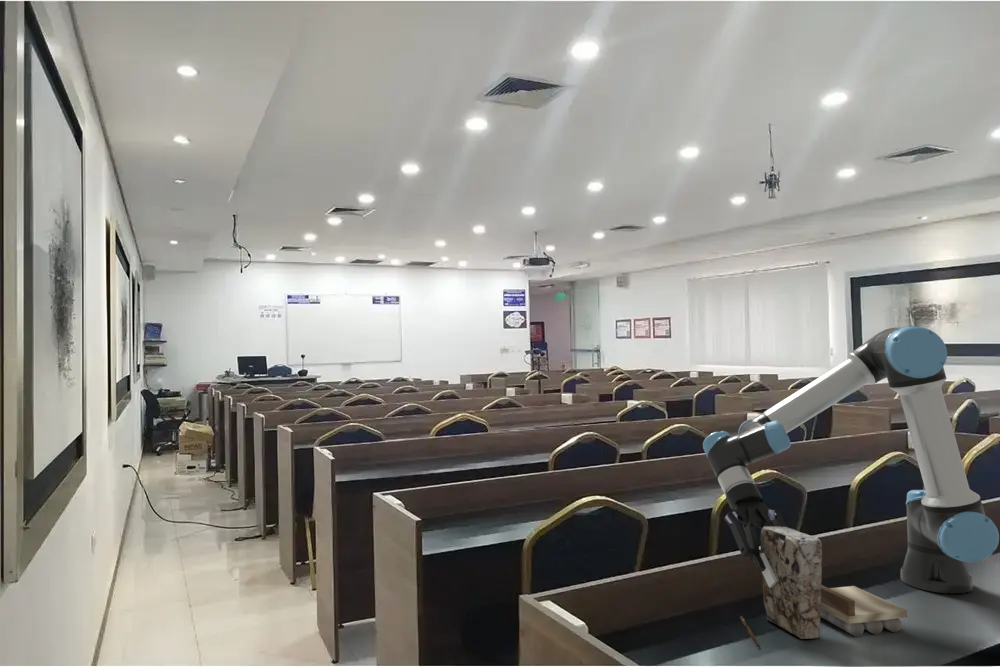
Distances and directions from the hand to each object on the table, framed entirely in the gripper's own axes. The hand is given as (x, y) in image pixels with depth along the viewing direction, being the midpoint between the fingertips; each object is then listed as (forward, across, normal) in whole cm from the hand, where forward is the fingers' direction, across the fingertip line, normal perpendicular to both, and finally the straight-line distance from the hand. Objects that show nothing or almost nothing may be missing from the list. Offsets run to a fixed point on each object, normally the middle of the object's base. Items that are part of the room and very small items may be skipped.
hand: (785, 583), depth 143 cm
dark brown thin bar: (+8, +10, -6) cm, 14 cm away
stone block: (+7, 0, -6) cm, 9 cm away
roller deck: (+7, -15, -5) cm, 17 cm away
